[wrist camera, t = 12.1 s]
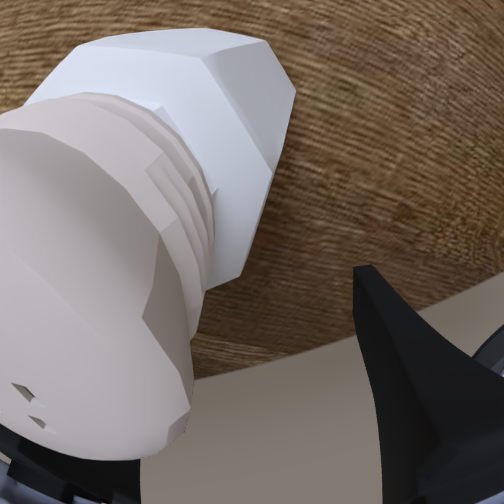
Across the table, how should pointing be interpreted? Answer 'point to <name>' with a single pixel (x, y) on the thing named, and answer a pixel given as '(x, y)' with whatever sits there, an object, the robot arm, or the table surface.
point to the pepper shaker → (128, 229)
